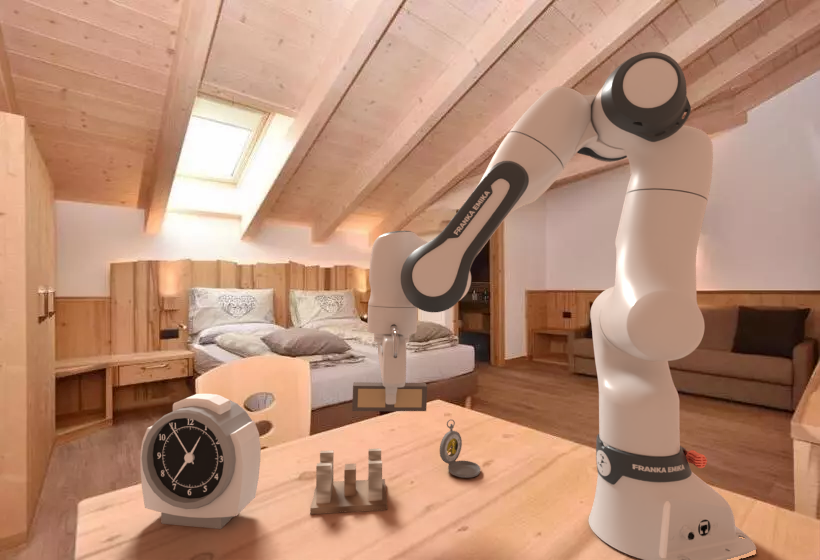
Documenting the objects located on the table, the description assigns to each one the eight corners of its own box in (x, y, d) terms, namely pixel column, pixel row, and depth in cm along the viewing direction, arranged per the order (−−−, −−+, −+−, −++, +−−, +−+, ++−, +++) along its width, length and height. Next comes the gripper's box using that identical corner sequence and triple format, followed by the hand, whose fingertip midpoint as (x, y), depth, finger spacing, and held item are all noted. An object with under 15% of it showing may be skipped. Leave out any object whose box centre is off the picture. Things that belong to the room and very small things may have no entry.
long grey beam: (424, 407, 73) (425, 382, 73) (426, 411, 71) (427, 386, 71) (352, 406, 72) (353, 382, 72) (352, 411, 70) (353, 385, 70)
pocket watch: (480, 481, 80) (479, 430, 80) (437, 477, 81) (437, 427, 81) (481, 463, 88) (481, 417, 88) (442, 460, 89) (442, 414, 89)
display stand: (384, 484, 78) (384, 445, 78) (387, 509, 69) (387, 466, 69) (317, 487, 77) (317, 448, 77) (310, 514, 68) (310, 469, 68)
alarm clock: (132, 527, 64) (134, 400, 65) (171, 499, 73) (172, 387, 73) (237, 537, 62) (238, 405, 62) (264, 506, 70) (265, 391, 70)
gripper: (416, 329, 62) (413, 419, 61) (404, 317, 82) (402, 385, 82) (375, 328, 61) (372, 419, 61) (373, 316, 81) (371, 385, 81)
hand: (389, 399), depth 71 cm, fingers closed on long grey beam, 2 cm apart
